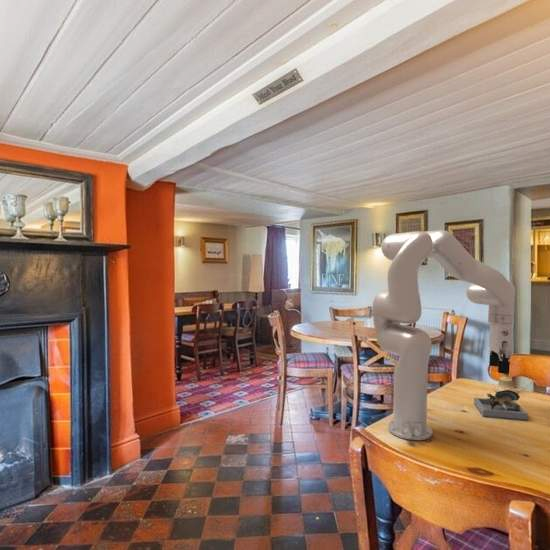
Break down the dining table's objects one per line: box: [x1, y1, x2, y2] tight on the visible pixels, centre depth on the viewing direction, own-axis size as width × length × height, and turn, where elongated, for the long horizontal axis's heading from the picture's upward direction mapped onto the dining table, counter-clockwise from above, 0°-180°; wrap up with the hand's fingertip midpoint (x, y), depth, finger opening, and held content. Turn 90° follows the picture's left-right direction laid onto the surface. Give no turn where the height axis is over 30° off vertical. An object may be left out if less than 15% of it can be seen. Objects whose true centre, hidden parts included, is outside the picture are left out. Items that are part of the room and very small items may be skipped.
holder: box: [473, 397, 529, 422], centre depth 130 cm, size 12×13×2 cm
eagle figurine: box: [486, 390, 521, 411], centre depth 130 cm, size 8×7×9 cm
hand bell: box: [493, 373, 519, 394], centre depth 151 cm, size 8×8×16 cm
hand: (498, 369), depth 130 cm, fingers open, 9 cm apart
